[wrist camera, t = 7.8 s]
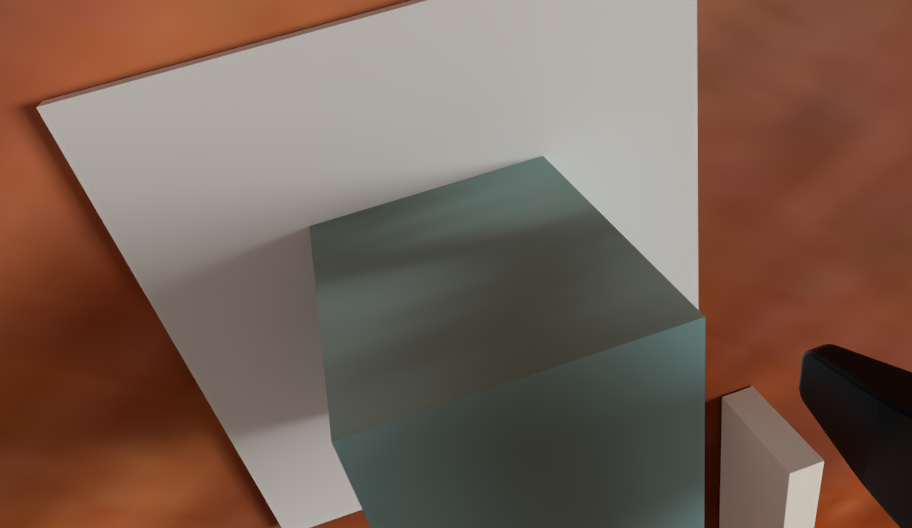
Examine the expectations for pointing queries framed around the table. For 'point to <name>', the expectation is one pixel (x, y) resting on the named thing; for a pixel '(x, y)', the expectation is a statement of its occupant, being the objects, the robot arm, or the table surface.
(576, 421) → the teal block
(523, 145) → the grey mat
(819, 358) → the robot arm
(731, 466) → the white u-shaped frame
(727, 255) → the table surface
